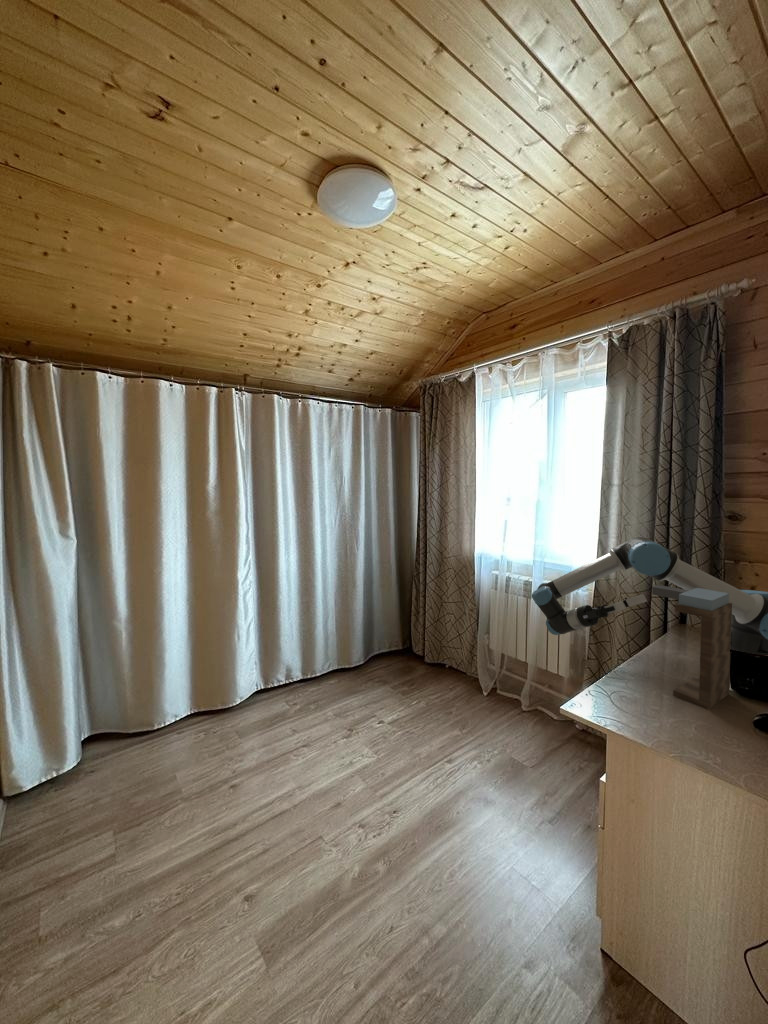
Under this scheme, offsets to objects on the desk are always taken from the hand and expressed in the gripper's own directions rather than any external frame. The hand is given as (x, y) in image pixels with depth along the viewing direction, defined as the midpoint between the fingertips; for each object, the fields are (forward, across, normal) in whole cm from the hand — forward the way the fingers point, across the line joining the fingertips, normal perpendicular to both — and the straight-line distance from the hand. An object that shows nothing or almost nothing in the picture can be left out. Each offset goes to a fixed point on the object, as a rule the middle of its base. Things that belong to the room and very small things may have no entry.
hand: (634, 601), depth 135 cm
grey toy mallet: (+15, 0, -4) cm, 15 cm away
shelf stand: (+4, 0, -30) cm, 31 cm away
